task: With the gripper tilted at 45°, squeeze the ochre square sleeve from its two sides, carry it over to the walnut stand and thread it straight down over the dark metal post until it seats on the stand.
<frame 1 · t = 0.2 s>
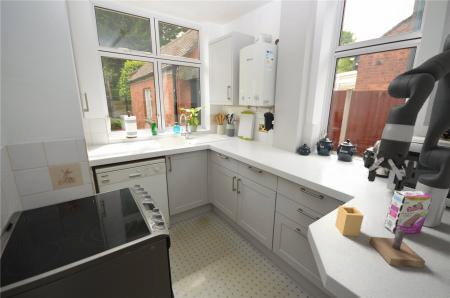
hand: (383, 185, 67), 22 cm above the worktop, tool pointing down, fingers open, 8 cm apart
sleeve: (346, 230, 78), on the worktop
candy bar box: (401, 230, 79), on the worktop
post stand: (394, 254, 66), on the worktop
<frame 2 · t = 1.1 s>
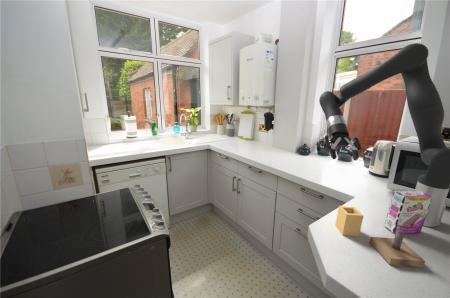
hand: (345, 159, 81), 27 cm above the worktop, tool tilted 45°, fingers open, 8 cm apart
nothing on the worktop moved.
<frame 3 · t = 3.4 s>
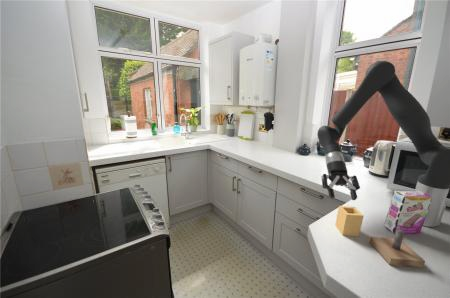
hand: (343, 199, 81), 11 cm above the worktop, tool tilted 45°, fingers open, 8 cm apart
nothing on the worktop moved.
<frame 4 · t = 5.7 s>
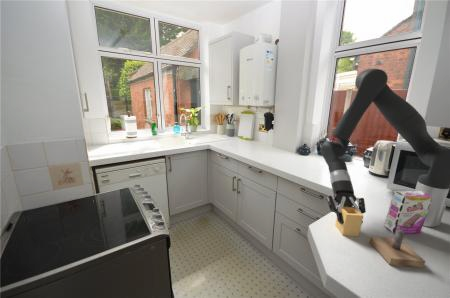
hand: (350, 223, 75), 4 cm above the worktop, tool tilted 45°, fingers closed on sleeve, 6 cm apart
sleeve: (346, 230, 78), on the worktop, touching gripper
everything else where it was.
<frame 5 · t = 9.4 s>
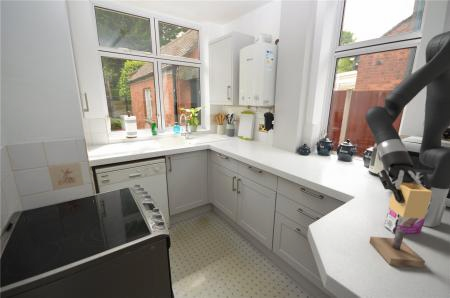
hand: (413, 203, 60), 20 cm above the worktop, tool tilted 45°, fingers closed on sleeve, 6 cm apart
sleeve: (405, 212, 62), point 16 cm above the worktop, touching gripper
everything else where it was.
when the fingers open (8 cm above the worktop, at t = 13.3 s): sleeve drops 1 cm, resting on post stand.
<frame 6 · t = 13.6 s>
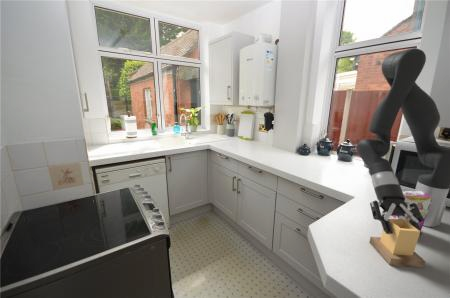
hand: (403, 234, 63), 9 cm above the worktop, tool tilted 45°, fingers open, 8 cm apart
sleeve: (395, 248, 66), point 2 cm above the worktop, touching post stand
everything else where it was.
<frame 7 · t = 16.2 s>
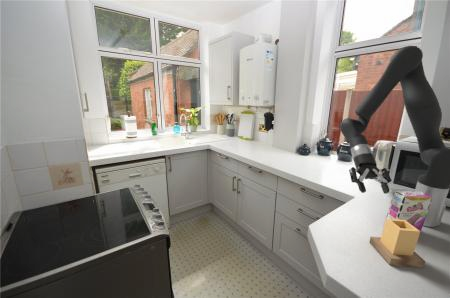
hand: (375, 192, 77), 15 cm above the worktop, tool tilted 45°, fingers open, 8 cm apart
nothing on the worktop moved.
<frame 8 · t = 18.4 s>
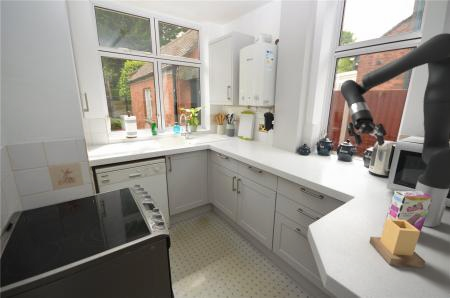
hand: (371, 144, 82), 33 cm above the worktop, tool tilted 45°, fingers open, 8 cm apart
nothing on the worktop moved.
at the end: sleeve 0.1 cm from the post stand (horizontally); sleeve point 2.5 cm above the worktop; sleeve tilted 0° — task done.
